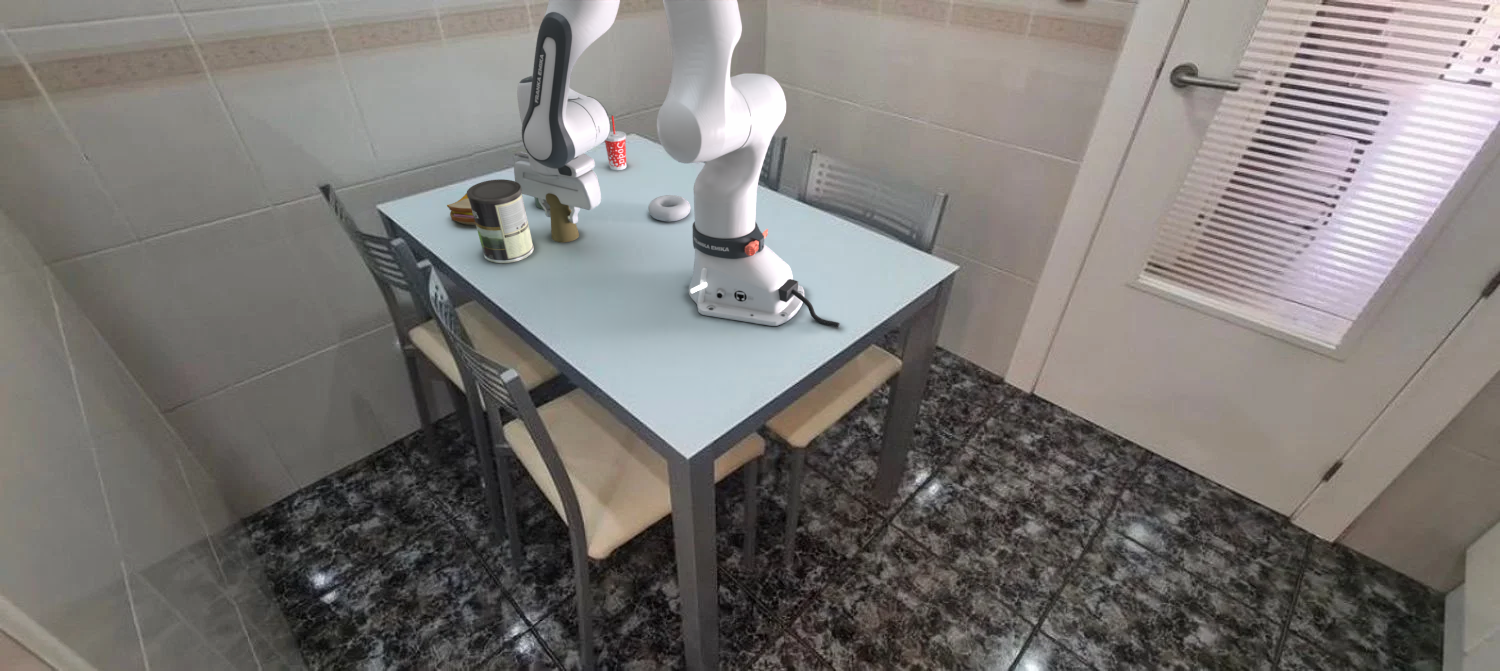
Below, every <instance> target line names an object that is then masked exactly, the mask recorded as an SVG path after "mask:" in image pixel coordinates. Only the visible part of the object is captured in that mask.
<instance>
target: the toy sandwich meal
mask: <svg viewBox="0 0 1500 671" xmlns="http://www.w3.org/2000/svg"><path fill="white" fill-rule="evenodd" d="M446 207H447V208H448V209H449V211H450V213H449V215H450V218H451V220H452V221H455V222H457V223H458V224H459V223H460V224H462V225H467V226H476V224H475V220H474V216H473V213H472V209H471V205H470V201H469V199H468V197H467V192H466V193H465V194H464V195H463V196H462V197H461V198H460V199H459V200H457V201H455V202H453V203H450V204H446Z"/></svg>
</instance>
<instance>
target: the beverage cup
mask: <svg viewBox="0 0 1500 671" xmlns="http://www.w3.org/2000/svg"><path fill="white" fill-rule="evenodd" d="M611 123H612V125H611V126H612V130H610V134H609V136H608V138H607V139H606V140H605V141H604V145H605V149H606V155H607V161H608V165H609V169H610V170H612V171H623V170H625V169H627V144H626V139H627V133H626V132H624V131H622V130H621V131H620V130H616V128H615V118H614V115H611Z"/></svg>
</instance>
